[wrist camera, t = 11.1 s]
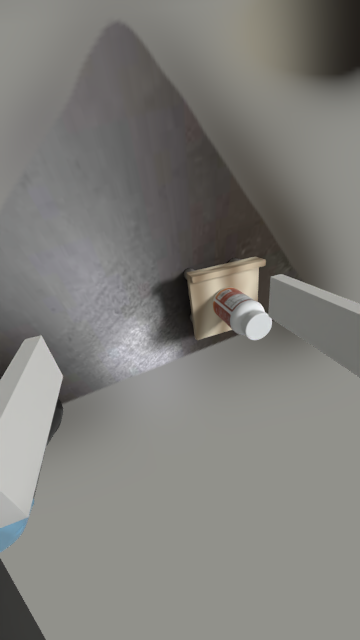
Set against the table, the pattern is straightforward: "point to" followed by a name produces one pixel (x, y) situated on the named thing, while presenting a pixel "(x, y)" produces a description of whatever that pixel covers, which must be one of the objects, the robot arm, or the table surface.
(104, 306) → the table surface
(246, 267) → the beige small table
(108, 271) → the table surface
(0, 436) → the robot arm
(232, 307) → the pill bottle
